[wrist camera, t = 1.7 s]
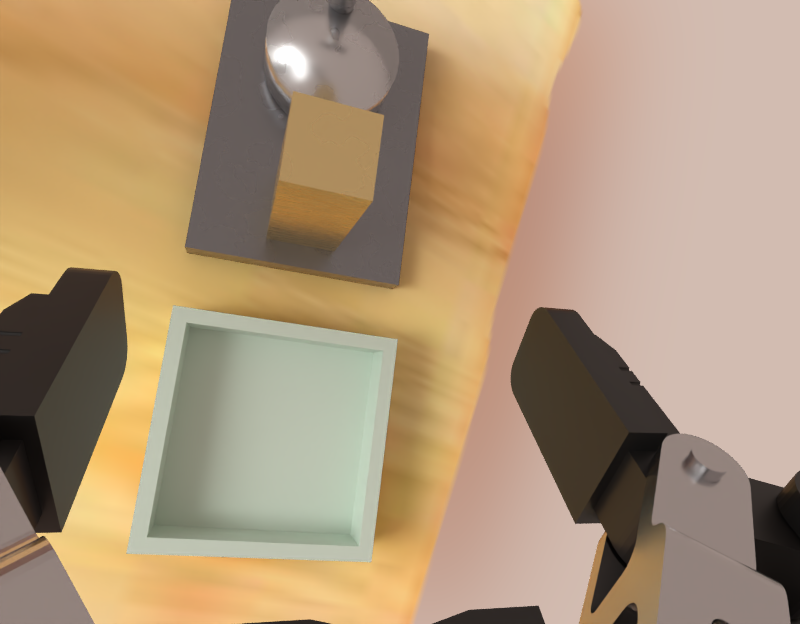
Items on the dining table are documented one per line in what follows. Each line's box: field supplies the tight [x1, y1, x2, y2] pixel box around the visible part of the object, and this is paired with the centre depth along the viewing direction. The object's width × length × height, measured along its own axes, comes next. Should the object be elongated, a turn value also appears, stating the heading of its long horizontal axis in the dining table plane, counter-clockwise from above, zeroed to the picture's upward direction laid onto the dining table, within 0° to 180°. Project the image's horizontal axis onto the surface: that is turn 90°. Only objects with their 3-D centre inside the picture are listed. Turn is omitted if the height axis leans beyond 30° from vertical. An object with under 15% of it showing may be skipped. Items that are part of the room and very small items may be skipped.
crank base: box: [185, 0, 429, 289], centre depth 31 cm, size 13×18×10 cm
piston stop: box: [266, 91, 384, 251], centre depth 29 cm, size 4×4×10 cm
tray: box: [126, 305, 398, 562], centre depth 31 cm, size 13×13×4 cm
